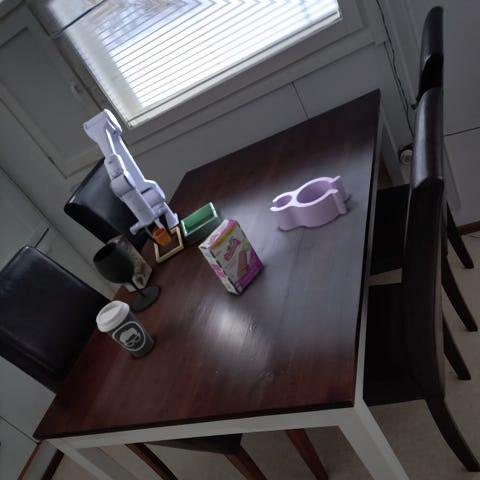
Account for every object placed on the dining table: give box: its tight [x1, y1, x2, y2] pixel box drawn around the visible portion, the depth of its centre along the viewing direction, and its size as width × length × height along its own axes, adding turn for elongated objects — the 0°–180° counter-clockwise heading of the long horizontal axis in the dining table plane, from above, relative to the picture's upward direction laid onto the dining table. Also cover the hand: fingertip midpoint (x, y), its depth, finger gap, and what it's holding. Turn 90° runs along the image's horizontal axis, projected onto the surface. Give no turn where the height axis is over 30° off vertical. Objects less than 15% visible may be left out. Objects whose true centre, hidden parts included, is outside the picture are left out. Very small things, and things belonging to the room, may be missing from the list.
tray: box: [153, 226, 184, 264], centre depth 159 cm, size 15×10×2 cm
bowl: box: [152, 227, 172, 247], centre depth 157 cm, size 5×5×4 cm
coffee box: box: [106, 234, 153, 293], centre depth 147 cm, size 9×6×16 cm
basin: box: [180, 202, 222, 246], centre depth 154 cm, size 13×13×4 cm
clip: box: [270, 175, 350, 231], centre depth 126 cm, size 20×12×7 cm, turn 74°
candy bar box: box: [197, 218, 265, 296], centre depth 118 cm, size 11×5×16 cm, turn 134°
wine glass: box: [92, 242, 160, 312], centre depth 137 cm, size 10×10×20 cm
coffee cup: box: [95, 300, 154, 358], centre depth 120 cm, size 10×10×15 cm
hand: (163, 238), depth 157 cm, fingers closed on bowl, 5 cm apart
